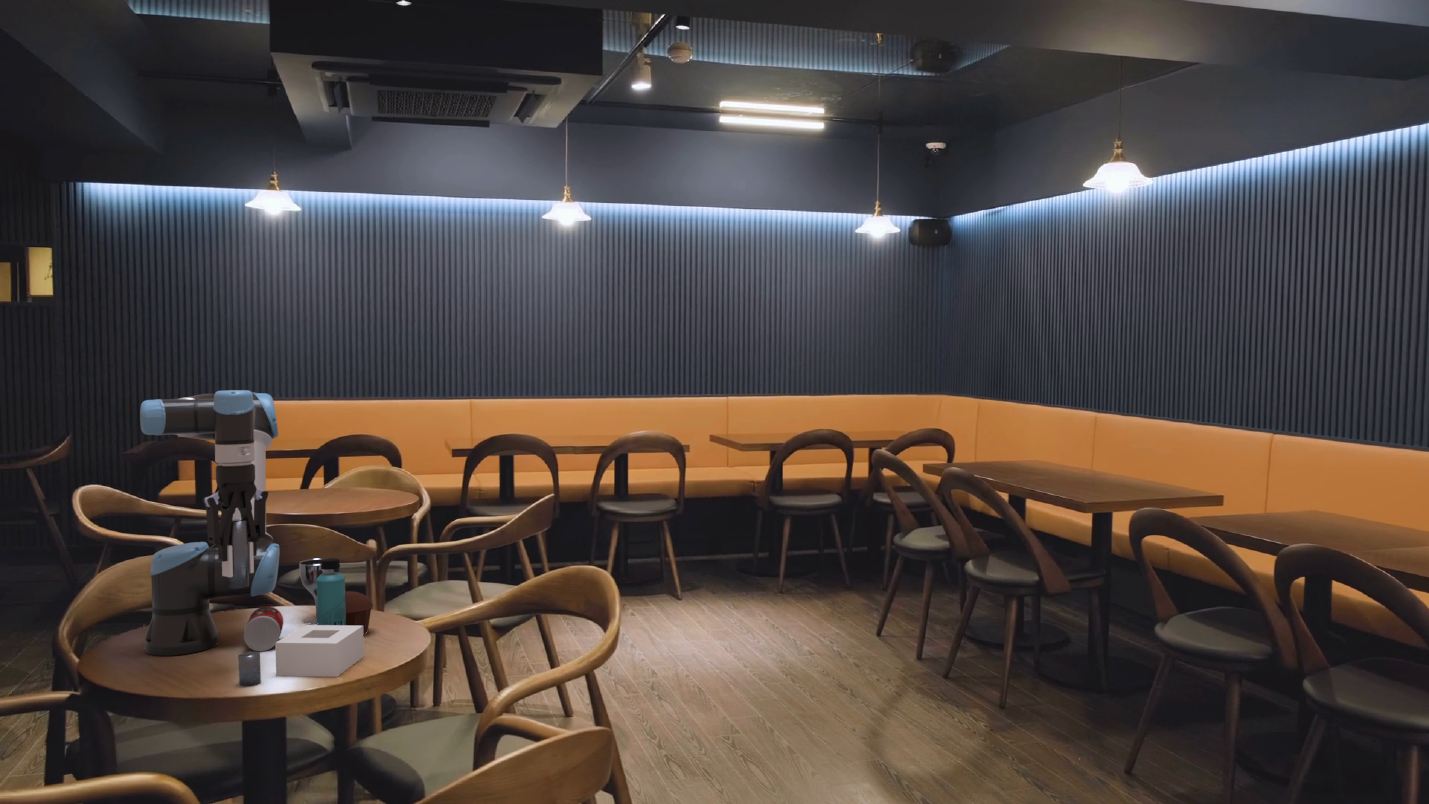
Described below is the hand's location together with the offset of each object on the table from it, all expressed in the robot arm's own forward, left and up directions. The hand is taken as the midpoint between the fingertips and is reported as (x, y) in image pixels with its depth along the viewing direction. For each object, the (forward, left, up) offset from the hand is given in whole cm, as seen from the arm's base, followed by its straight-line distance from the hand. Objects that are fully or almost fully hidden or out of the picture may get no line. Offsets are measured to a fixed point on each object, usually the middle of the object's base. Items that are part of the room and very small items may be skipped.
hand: (238, 574), depth 216 cm
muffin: (+11, +29, -21) cm, 38 cm away
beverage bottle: (+11, +20, -21) cm, 31 cm away
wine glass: (-2, +41, -21) cm, 46 cm away
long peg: (0, 0, -3) cm, 3 cm away
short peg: (+6, -8, -21) cm, 23 cm away
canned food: (-7, +24, -17) cm, 30 cm away
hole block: (+16, +4, -21) cm, 26 cm away
